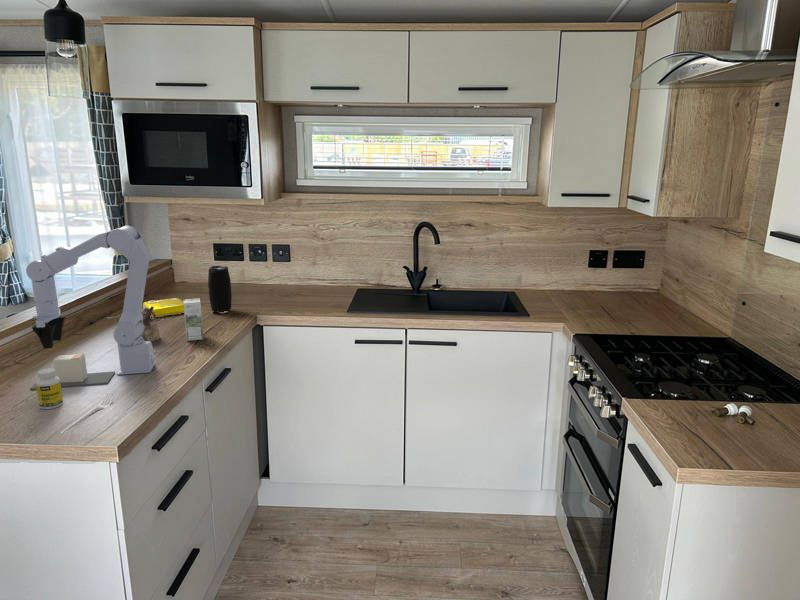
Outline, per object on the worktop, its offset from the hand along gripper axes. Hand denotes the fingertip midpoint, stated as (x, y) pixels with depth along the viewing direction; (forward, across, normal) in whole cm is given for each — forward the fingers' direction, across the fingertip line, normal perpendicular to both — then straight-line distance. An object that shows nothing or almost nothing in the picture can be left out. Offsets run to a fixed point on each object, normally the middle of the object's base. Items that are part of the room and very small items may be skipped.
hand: (52, 344), depth 170 cm
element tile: (+10, -69, +21) cm, 73 cm away
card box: (+9, +8, +6) cm, 14 cm away
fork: (+10, +34, +17) cm, 40 cm away
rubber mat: (+9, +8, +7) cm, 14 cm away
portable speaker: (+10, -64, +44) cm, 78 cm away
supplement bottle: (+10, +25, +6) cm, 28 cm away
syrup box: (+10, -27, +37) cm, 47 cm away
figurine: (+10, -30, +21) cm, 38 cm away
